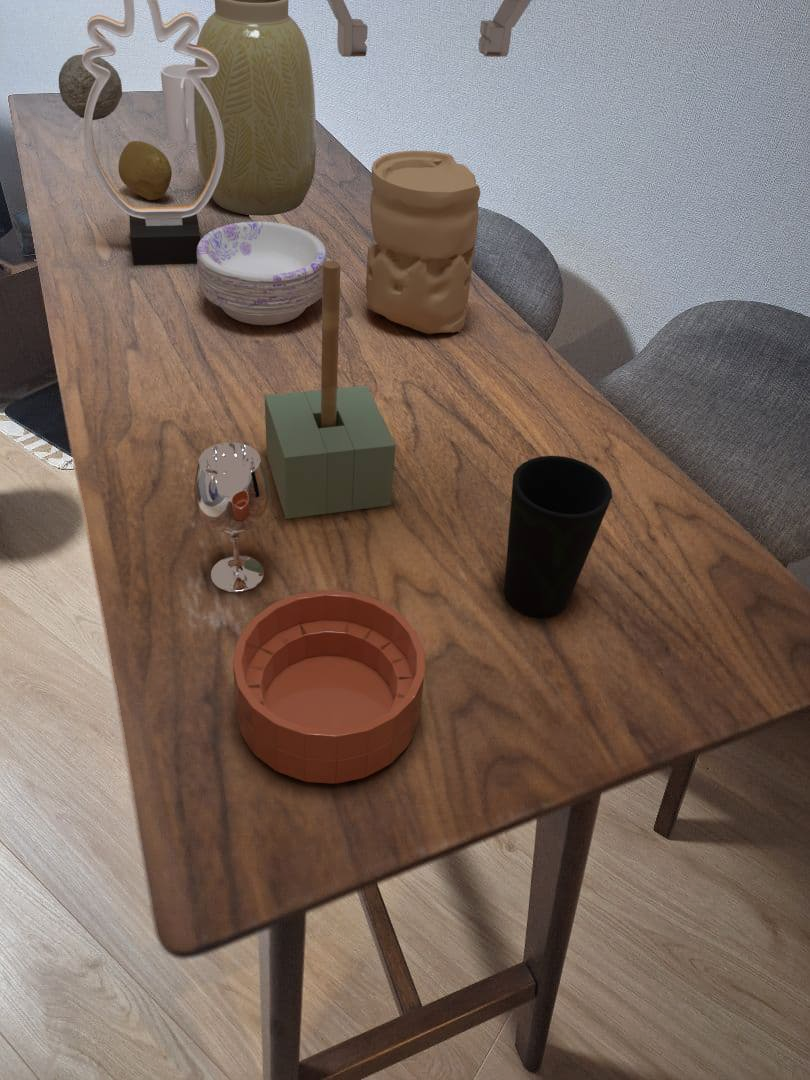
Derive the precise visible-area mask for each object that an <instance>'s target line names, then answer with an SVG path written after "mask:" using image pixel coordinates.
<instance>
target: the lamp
mask: <svg viewBox="0 0 810 1080" xmlns="http://www.w3.org/2000/svg"><path fill="white" fill-rule="evenodd" d="M146 3H147V5H148V7H149V11H150V15H151V21H152V25H153V29H154V34H155V38H156V40H157V42H158V43H163V42H165V41H167V40H168V39H170V38H171V37H172V36H173V35H175V34H176V33H177V32H179V31H180V30H181V29H183V28H185V27H186V26H188V27H187V28H186V30H184V31H183V32H182V34H181V35H180V37H178V39H177V40H175V42H174V45H173V51H174V52H175V53H178V54H182V55H184V56H188V57H192V58H194V59H195V58H197V59H199V60H201V61H203V62H204V63H206V64H207V65H208V66H197V67H191V68H188V69H186V74H187V76H188V78H189V79H190V80H191V82H192V83H193V84H194V86H195V87H196V89H197V90H198V92H199V93H200V95H201V96H202V98H203V100H204V102H205V103H206V105H207V107H208V109H209V112H210V114H211V117H212V120H213V123H214V128H215V134H216V155H215V162H214V166H213V169H212V172H211V175H210V178H209V180H208V182H207V184H206V186H205V185H204V188H203V190H202V191H201V193H200V195H199V196H198V198H197V199H196V200H195V201H194V202H193V203H192V204H190V205H184V206H147V207H145V206H142V207H141V206H140V207H139V206H134V205H132V204H131V203H129V201H127V200H125V198H124V197H123V196H122V195H121V194H120V193H119V192H118V190H117V189H116V188H115V187H114V185H113V184H112V182H111V180H109V178H108V176H107V174H106V173H105V171H104V169H103V167H102V165H101V162H100V160H99V158H98V155H97V154H98V153H97V151H96V147H95V143H94V135H93V120H92V119H93V113H94V109H95V105H96V102H97V100H98V97H99V95H100V93H101V91H102V89H103V87H104V86H105V84H106V83H107V81H108V79H109V78H110V71H109V70H108V69H107V68H104V67H102V66H100V65H98V64H96V63H94V62H93V61H92V59H94V58H97V57H101V58H105V57H106V58H107V57H113V56H114V55H115V54H116V47H115V45H114V44H113V43H112V42H111V41H110V40H108V39H107V38H106V37H105V35H104V34H102V33H101V32H100V31H99V30H98V29H97V28H100V29H102V30H105V31H107V32H109V33H111V34H113V35H116V36H118V37H120V38H128V37H131V36H132V34H133V33H134V29H135V17H136V16H135V1H134V0H123V8H124V21H123V22H120V21H118V20H115V19H113V18H110V17H108V16H106V15H103V14H96V15H94V16H91V17H90V18H89V19H88V20H87V25H86V27H87V28H86V30H87V35H88V37H89V39H90V40H91V41H92V42H93V43H94V44H95V45H96V46H95V45H94V46H91V47H87V49H86V50H84V53H83V54H82V55H83V57H82V63H83V66H84V67H85V69H86V70H87V71H88V72H89V73H90V74H92V75H93V76H94V77H95V79H96V80H95V81H94V83H93V86H92V88H91V91H90V93H89V96H88V100H87V104H86V108H85V114H84V118H83V139H84V140H83V141H84V148H85V152H86V155H87V159H88V162H89V165H90V168H91V170H92V173H93V174H94V176H95V178H96V180H97V181H98V183H99V185H100V187H101V188H102V189H103V191H104V192H105V193H106V194H107V196H108V198H110V200H111V201H112V203H114V205H115V206H116V207H117V208H118V209H120V210H121V211H122V212H123V213H125V214H126V215H128V217H129V240H130V241H129V242H130V247H131V256H132V262H133V263H132V264H133V266H147V265H148V266H149V265H153V266H154V265H179V264H182V265H183V264H197V246H198V244H199V242H200V240H201V239H202V238H201V232H200V231H201V230H200V225H199V219H198V214H199V213H200V212H201V211H202V210H203V209H204V208H205V207H206V206H207V204H208V203H209V202H210V201H211V198H212V197H211V196H212V195H213V193H214V191H215V189H216V186H217V184H218V181H219V179H220V176H221V172H222V168H223V162H224V152H225V142H224V133H223V128H222V123H221V120H220V116H219V113H218V110H217V108H216V105H215V103H214V101H213V99H212V96H211V94H210V92H209V91H208V89H207V88H206V86H205V85H204V83H203V82H202V80H201V78H210V77H214V76H216V75H217V73H218V71H219V64H218V60H217V58H216V57H215V55H214V54H213V53H212V52H210V51H209V50H207V49H206V48H204V47H201V46H197V44H192V43H191V42H192V41H193V40H194V39H195V38H196V37H197V36H199V34H200V23H199V19H198V18H197V17H196V15H195V14H193V13H192V12H182V13H179V14H177V15H176V16H175V17H173V18H172V19H171V20H170V21H168V22H166V23H164V22H163V17H162V14H161V13H162V12H161V8H160V5H159V1H158V0H146Z"/></svg>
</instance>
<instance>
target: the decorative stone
mask: <svg viewBox="0 0 810 1080" xmlns="http://www.w3.org/2000/svg"><path fill="white" fill-rule="evenodd" d="M82 57H83V54H74V55H72V56H70V57H69V58H67V60H66V61H65V62H64V63H63V65H62V67H61V68H60V70H59V73H58V89H59V93H60V96H61V99H62V102H63V103H64V104H65V105H66V106H67V108H68V109H69V110H70V111H72V112H74V114H75V115H76V116H77V117H79V118H81V119H84V114H85V108H86V104H87V100H88V96H89V93H90V91H91V88H92V86H93V83H94V81H95V80H96V79H95V77H94V76H93V75H92V74H90V73H89V72H88V71H87V70H86V69H85V67H84V66H83V63H82ZM92 61H93V62H94V63H96V64H98V65H100V66H102V67H104V68H107V69H108V70H109V71H110V78H109V79H108V81H107V83H106V84H105V86H104V87H103V89H102V91H101V93H100V95H99V97H98V100H97V102H96V105H95V109H94V113H93V119H92V121H97V120H100V119H105V118H106V117H109V116H110V115H111V114H112V113H113V112H114V111H115V110H116V109H117V107H118V106H119V104H120V101H121V99H122V98H123V85H122V78H121V77H120V74H119V73H118V70H117V69H116V68H114V66H113V65H111V63H109V61H107V60H105V58H103V57H97V58H94V59H92Z"/></svg>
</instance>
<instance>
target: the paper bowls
mask: <svg viewBox="0 0 810 1080" xmlns="http://www.w3.org/2000/svg"><path fill="white" fill-rule="evenodd" d="M200 239H201V240H200V242H199V244H198V246H197V263H196V264H197V271H198V272H197V274H198V286H199V290H200V291H201V293H202V295H203V296H204V297H205V299H207V300H208V301H209V302H210V303H212V304H213V305H215V306H217V307H220V308H221V309H222V310H223V312H224V313H225V314H226V315H228V316H229V317H230V318H232V319H233V320H236V321H237V322H241V323H243V324H249V325H253V326H254V325H255V326H274V325H281V324H284V323H288V322H292V321H293V320H295V319H296V318H298V317H299V316H301V315H302V314H303V313H304V311H305V310H306V308H308V307H311V305H313V304H314V303H317V301H319V300H320V299H321V298H322V297H323V264H324V262H327V261H328V260H327V258H328V252H327V249H326V247H325V244H324V242H322V241H321V240H320V239H319V237H317V236H316V235H315V234H312V233H311V232H310V231H307V230H306V229H302V228H300V227H297V226H293V225H290V224H285V223H280V222H275V221H274V222H273V221H241V222H235V223H229V224H226V225H223V226H220V227H217V228H215V229H213V230H210V231H209V232H208V233H206V234H204V236H202V238H200Z"/></svg>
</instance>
